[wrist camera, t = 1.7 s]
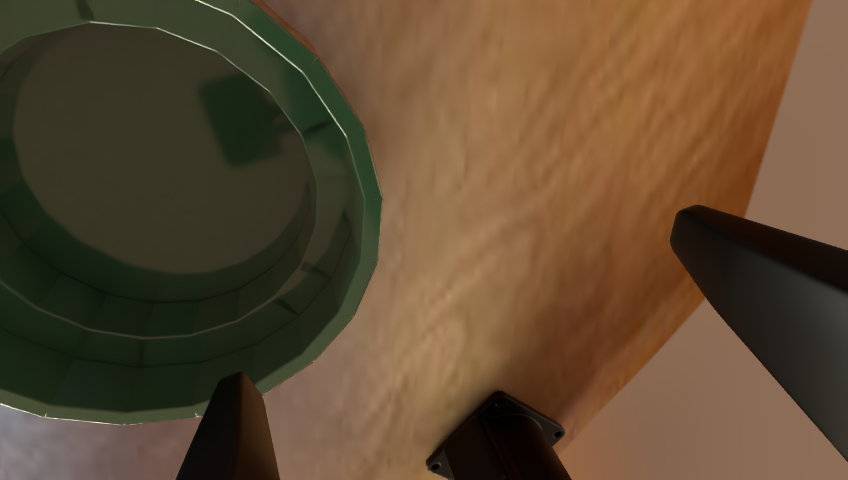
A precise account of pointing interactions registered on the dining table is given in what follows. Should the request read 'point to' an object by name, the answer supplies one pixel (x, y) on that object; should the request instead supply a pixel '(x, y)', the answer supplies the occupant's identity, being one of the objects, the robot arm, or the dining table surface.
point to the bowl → (171, 205)
